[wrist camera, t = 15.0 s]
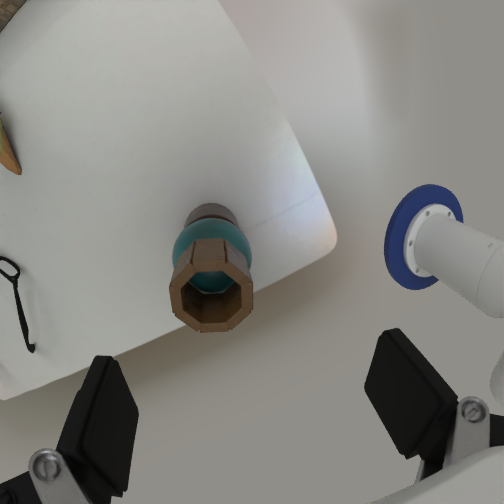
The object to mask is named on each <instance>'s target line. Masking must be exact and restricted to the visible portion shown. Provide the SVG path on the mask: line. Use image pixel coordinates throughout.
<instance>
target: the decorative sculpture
mask: <svg viewBox="0 0 504 504" xmlns="http://www.w3.org/2000/svg"><path fill="white" fill-rule="evenodd" d="M0 114H1V112H0ZM3 128H4V127H3V126H2V122H1V119H0V162H1V163H2V164H3V165H4V166H5V167H6V168H7V169H8V170H10V171H12V172H13V173H15V174H18V175H21V168H20V167H19V165H18V163H17V161H16V159H15V157H14V155H13V152H12V150H11V147H10V145H9V142H8V140H7V137H6V135H5V132H4V130H3Z"/></svg>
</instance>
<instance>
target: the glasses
mask: <svg viewBox="0 0 504 504" xmlns="http://www.w3.org/2000/svg"><path fill="white" fill-rule="evenodd" d="M1 260H4V261H6V262H8V263H10V264H11V265H12V266H13V267H14V268H15V269H16V270H17V272H18V273H17V274H16V275H15V276H9V275H8V274H6V273H5V272H4V271H3V270H1V269H0V273H1V274H2V275H3V276H4V277H6V278H7V279H8V280H9V281H10V282H11V283H13V288H14V289H13V290H14V294H15V299H16V305H17V310H18V316H19V320H20V325H21V329H22V332H23V336H24V339H25V343H26V346H27V349H28V350H29V351H30V352H31V353H34V351H35V345H34V344H29V340H28V326H27V323H26V319H25V316H24V312H23V309H22V305H21V301H20V297H19V294H18V290H17V287H18V280H17V279H18V278H19V276H20V269H19V267H18V266H17V265H16V264H15V263H14V262H12V261H11V260H9V259H7V258H5V257H2V256H0V261H1Z"/></svg>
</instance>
